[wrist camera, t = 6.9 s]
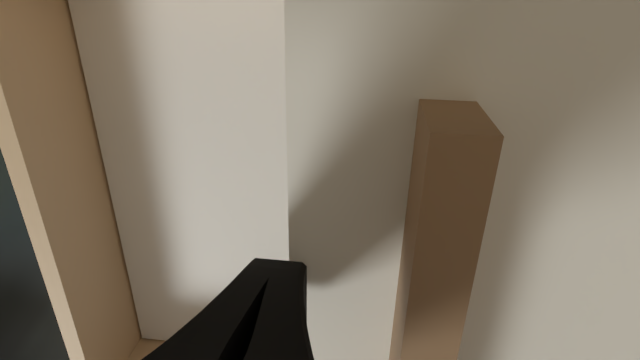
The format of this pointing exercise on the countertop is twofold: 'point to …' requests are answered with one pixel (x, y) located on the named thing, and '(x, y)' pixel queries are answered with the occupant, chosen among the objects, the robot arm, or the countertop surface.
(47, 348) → the countertop surface
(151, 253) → the mailer box
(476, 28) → the mailer lid
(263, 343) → the robot arm
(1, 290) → the countertop surface
